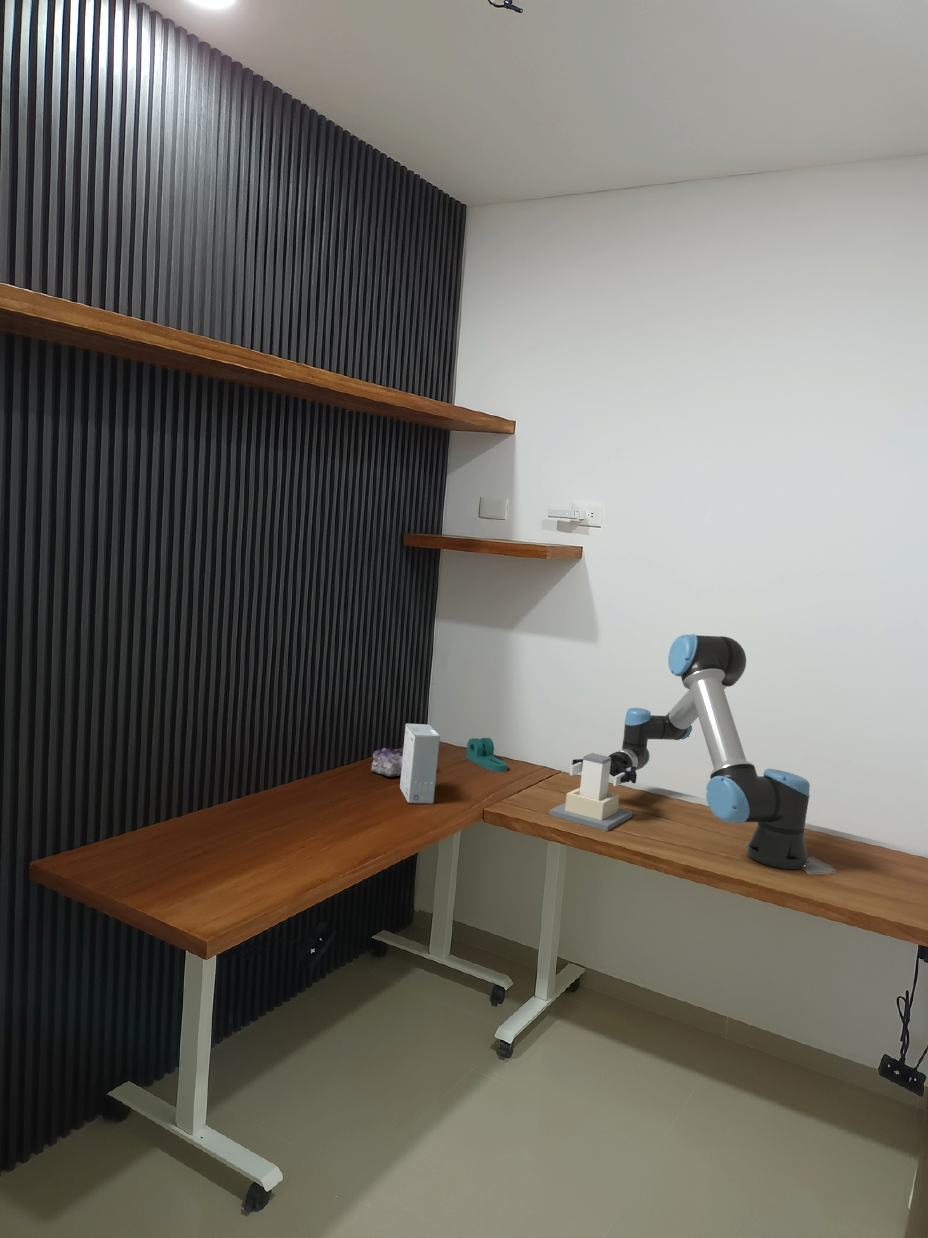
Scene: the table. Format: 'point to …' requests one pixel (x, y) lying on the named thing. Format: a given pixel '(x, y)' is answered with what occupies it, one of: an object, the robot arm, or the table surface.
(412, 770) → the hard drive box
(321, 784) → the table surface
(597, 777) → the white grey-topped block
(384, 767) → the geode
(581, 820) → the holder
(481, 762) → the bracket
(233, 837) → the table surface
